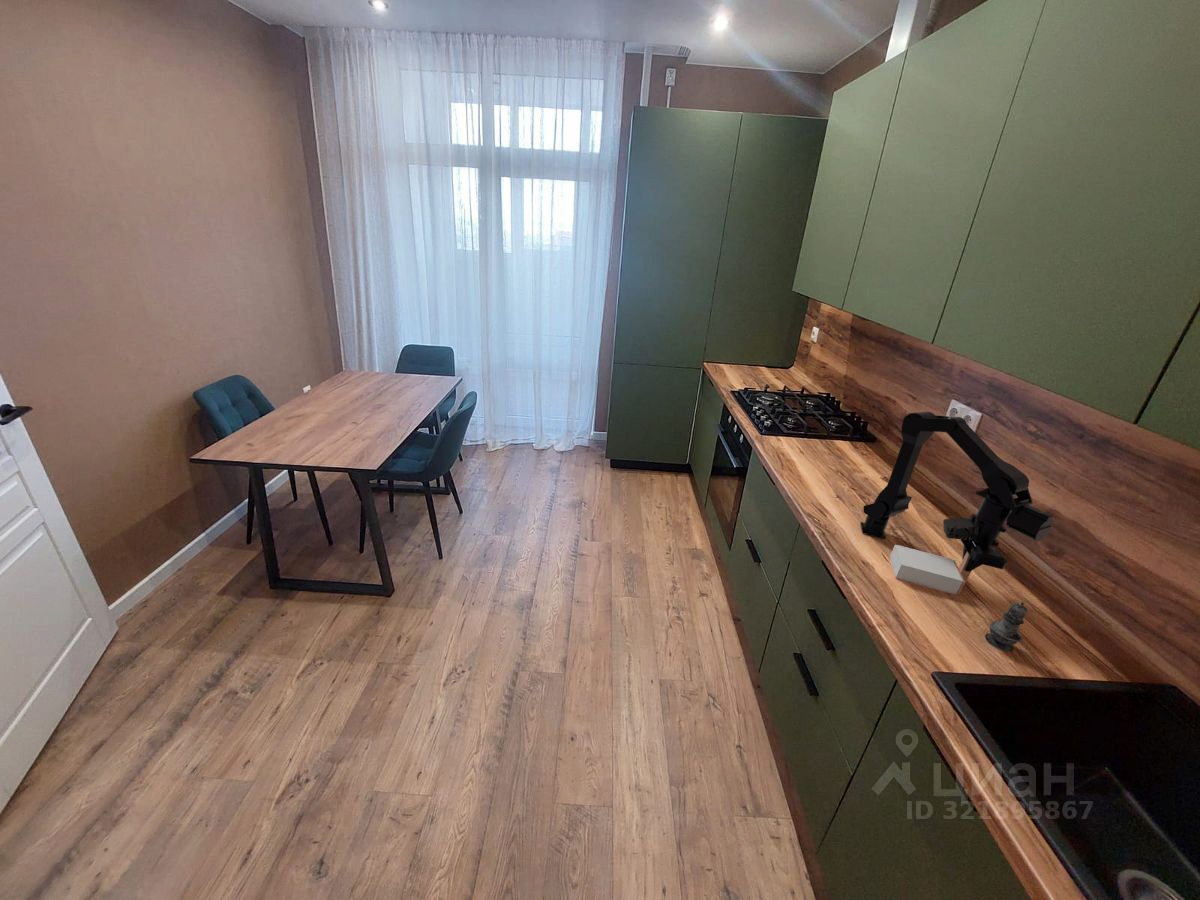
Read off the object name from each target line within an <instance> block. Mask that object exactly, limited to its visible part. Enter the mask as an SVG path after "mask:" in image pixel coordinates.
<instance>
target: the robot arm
mask: <svg viewBox="0 0 1200 900" xmlns="http://www.w3.org/2000/svg"><path fill="white" fill-rule="evenodd" d="M934 432H935V433H939V432H940V433H946V434H947V435H948V436H949V437H950V438H951V439H952V441H954V443H956V444H957V446H958V447H959V448H960V449H961V450H962V451H963V452H964V454H966V455H967V458H969V459H970V460H971V462H973V464H974V465H976V467H977V468H978V469H979V471H980V473H981V477H982V480H983V482H984V483H985V485H986V486H987V487H986V488H984V489H981V490H977V491H975V494H976V496H979V497H982V498H984V499H983V500H982V502H981V504H980V507H979V509H978V511H977V512H976V513H972V514H970V516H969V518H966V517H958V518H944V519H943V520H942V523H943V525H942V526H943V532H944V534H945V537H946V538H948V539H950V540H952V539H953V540H960V541H961V542H962V544H963V550H962V559H961V561H962V560H963V558H964V556H965V554H966V552H968V554H969V555H968V558H967V562H966V565H965V571H968V572H970V571H971V572H972V571H974V570H976V569H977V568H979V567H980V566H983V565H984V566H988V567H992V568H996V569H1000V570H1004V569H1005V567H1006V566H1007V564H1008V561H1007V560H1006V558H1005V556H1004V555H1003V554H1002V552H1001V551H1000V549H999V550H998V549H995V548H994V547H998V546H999V544H1000V543H999V541H998V540H997V539H998V538H999V536H1000V533H1004V534H1005V533H1006V531H1007V528H1006V527H1005V524H1006V526H1008V528H1009V529H1011V530H1013V531H1015V532H1017V533H1018V534H1021V535H1023V536H1025V537H1027V538H1029V539H1032V540H1033V541H1035V542H1040V541H1041V540H1043V539H1044V538H1045V537H1046V536H1047V535H1048V534H1049V532H1050V531H1051V530H1052V528H1053V526H1052V524H1053V517H1054V514H1052V513H1050V512H1047V511H1043V510H1040V509H1038V508H1037V507H1034V506H1031V505H1033V499H1032V497H1031V493H1030V490H1029V485H1030V478H1029V477H1028V476H1027V475H1026V474H1025V473H1024V472H1023V471H1021V470H1020V469H1018V468H1017V467H1016V466H1015V465H1012V464H1011V463H1009V462H1006V461H1004V460H1003V459H1001V457H999V456H998V455H997V453H995V452H994V451H993V450H992V448H990V446H988V445H987V443H986V442H985V441H984V440H983V439H982V438H981V437H980V436H979V435H978V434H977V433H976V432H975V431H974V429H972V428H971V427H970V426H969V425H968V423H967V421H966V419H964V418H963V417H961V416H948V415H935V413H933V412H932V411H929V410H928V411H918V412H910V413H908V414H906V415H905V416H904V417H903V419H902V422H901V429H900V434H901V438H902V443H901V445H900V448H899V451H898V454H897V457H896V459H895V462H894V465H893V468H892V471H891V474H890V475H889V479H888V482H887V484H886V486H884V488H883V489H882V490H881V491H880V492H879V493H878V495H877V496H876V498H875V500H874V502H873V503H870V504H866V505H865V504H864V505H863V510H862V511H863V514H865V515H866V518H865V521H864V522H862V521H861V522H860V528H861V532H862V534H865V535H868V536H872V537H876V538H880V539H883V540H886V538H887V537H886V533H885V530H886V527H887V525H888V523H889V520H890V518H891V517H896V516H897V515H899V514H902V513H904V512H905V511H906V510H909V505H910V502H912V501H911V500H912V498H913V497H912V496H911V495H910V496H909V495H908V492H907V487H908V485H909V483H910V480H911V477H912V474H913V473H914V469H915V466H916V464H917V461H918V457H919V456H920V453H921V450H922V448H923V445H924V444H925V443H926V442H927V441H928V440H929V439H930V438H931V437H932V435H933V434H934ZM1014 496H1016V498H1015V497H1014ZM992 546H993V547H992Z"/></svg>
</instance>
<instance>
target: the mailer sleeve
mask: <svg viewBox="0 0 1200 900" xmlns="http://www.w3.org/2000/svg"><path fill="white" fill-rule="evenodd" d="M889 560H890V564H891V567H892V570H893V574H894V578H895V579H897V580H900V581H904V582H908V583H912V584H916V585H918V586H923V587H925V588H929V589H930V588H931V589H934V590H937V591H940V592H944V593H948V594H952V595H954V596H956V595H957V591H958V590H959V588H960V586H961V584H962V582H963V580H962V578H961V576H960V574H959V572H958V570H957V568H956V566H955V564H954V562H953V560H954V559H953V558H949V557H945V556H941V555H938V554H933V553H930V552H926V551H922V550H918V549H914V548H911V547H906V546H903V545H900V544H899V545H898V544H894V546H893V548H892V551H891V553H890V556H889Z"/></svg>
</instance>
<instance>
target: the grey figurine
mask: <svg viewBox="0 0 1200 900" xmlns="http://www.w3.org/2000/svg"><path fill="white" fill-rule="evenodd" d="M1027 614H1028V609H1027V607H1026V606H1025V603H1024V601H1020V602H1018V603H1017V602H1014V603H1012V604H1010V606H1009V608H1008V610H1007V611H1005V612H1003V617H1002V619H1001V621H996V620H995V621H991V622H990V623H989V626H990V627H989V632H990V633H986V634H984V635H985V636H984V638H985V640H986V641H987V643H988V644H989V645H990V646H991V647H993V648H995V649H997V650H999V651H1002V652H1006V653H1011V652H1013V651H1014V645H1015V644H1017V643H1019V642H1021V641H1022V640H1023V635H1022V634H1021V633H1020V632H1019V631H1018V629H1019V628H1020V626H1021V625H1024V623H1025V621H1024V618H1025V617H1026V615H1027Z"/></svg>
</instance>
